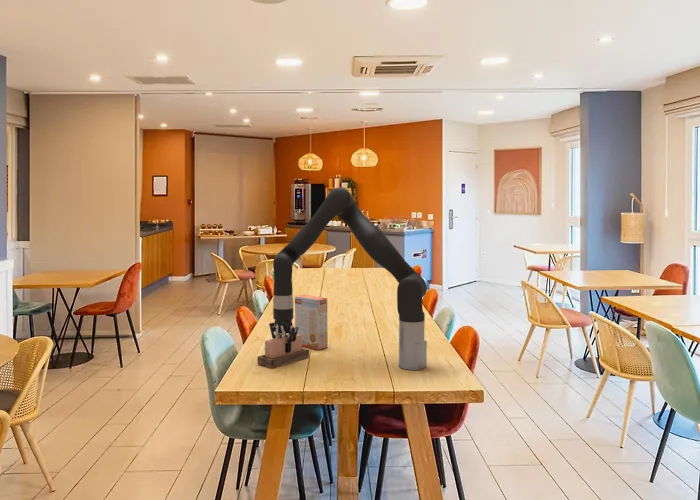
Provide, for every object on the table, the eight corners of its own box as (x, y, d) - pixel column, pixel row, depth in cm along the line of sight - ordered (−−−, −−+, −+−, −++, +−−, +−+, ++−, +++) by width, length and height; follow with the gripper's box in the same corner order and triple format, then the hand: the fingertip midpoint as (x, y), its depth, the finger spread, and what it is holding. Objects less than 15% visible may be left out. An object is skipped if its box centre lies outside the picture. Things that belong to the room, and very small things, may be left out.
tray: (309, 357, 224) (309, 349, 223) (272, 368, 209) (272, 360, 209) (294, 353, 229) (294, 346, 229) (257, 364, 215) (257, 356, 214)
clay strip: (294, 348, 226) (294, 333, 225) (301, 350, 223) (301, 335, 223) (265, 356, 215) (264, 340, 214) (272, 358, 212) (272, 342, 211)
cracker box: (328, 348, 238) (328, 297, 236) (317, 350, 233) (317, 299, 231) (305, 342, 247) (304, 293, 245) (294, 344, 243) (294, 295, 241)
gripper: (303, 307, 216) (304, 352, 217) (277, 302, 225) (278, 346, 226) (289, 310, 210) (289, 356, 211) (263, 305, 219) (263, 350, 221)
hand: (283, 351), depth 219 cm, fingers closed on clay strip, 4 cm apart
